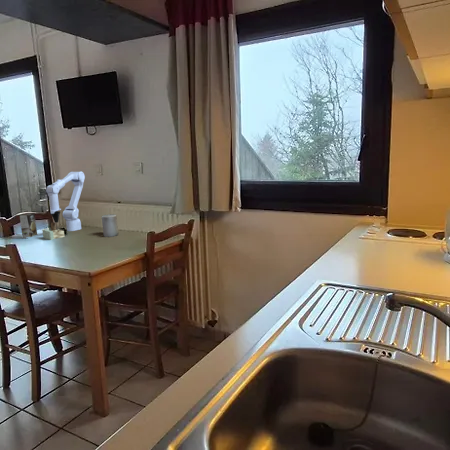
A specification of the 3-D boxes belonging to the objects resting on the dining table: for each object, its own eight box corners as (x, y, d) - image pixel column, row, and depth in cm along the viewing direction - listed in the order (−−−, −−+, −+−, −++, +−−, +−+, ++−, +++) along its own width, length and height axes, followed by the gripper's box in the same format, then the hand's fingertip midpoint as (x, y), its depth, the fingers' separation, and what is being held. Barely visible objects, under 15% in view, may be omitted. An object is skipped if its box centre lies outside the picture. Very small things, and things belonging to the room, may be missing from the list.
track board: (71, 233, 287) (70, 224, 286) (80, 236, 278) (79, 226, 277) (41, 239, 273) (40, 229, 272) (50, 242, 263) (48, 232, 262)
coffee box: (31, 238, 277) (28, 215, 273) (22, 238, 277) (19, 215, 274) (37, 235, 286) (35, 212, 282) (28, 235, 286) (25, 213, 283)
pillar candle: (114, 233, 284) (111, 211, 281) (121, 234, 277) (118, 213, 274) (101, 235, 278) (98, 214, 275) (107, 237, 270) (105, 215, 268)
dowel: (55, 234, 286) (54, 222, 284) (57, 235, 284) (56, 222, 282) (51, 235, 284) (49, 222, 282) (53, 236, 282) (51, 223, 280)
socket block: (59, 235, 278) (58, 229, 277) (64, 236, 273) (63, 231, 272) (47, 237, 273) (46, 231, 272) (52, 239, 267) (51, 233, 266)
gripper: (57, 203, 271) (59, 223, 274) (62, 201, 286) (65, 220, 288) (46, 204, 271) (48, 224, 273) (52, 201, 285) (54, 220, 287)
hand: (56, 222), depth 281 cm, fingers closed
